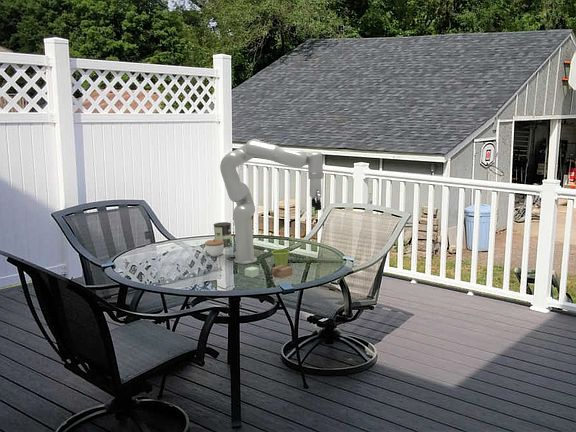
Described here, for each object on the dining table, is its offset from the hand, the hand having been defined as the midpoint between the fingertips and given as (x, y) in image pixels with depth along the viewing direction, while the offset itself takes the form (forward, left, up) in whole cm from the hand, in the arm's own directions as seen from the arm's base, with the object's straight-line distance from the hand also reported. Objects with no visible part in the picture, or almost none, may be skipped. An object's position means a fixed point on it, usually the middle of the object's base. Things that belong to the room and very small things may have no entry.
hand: (316, 208), depth 316 cm
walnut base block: (+5, -33, -28) cm, 43 cm away
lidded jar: (-57, -23, -29) cm, 68 cm away
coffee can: (-68, -7, -29) cm, 74 cm away
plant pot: (-8, -20, -29) cm, 36 cm away
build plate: (+5, -33, -29) cm, 44 cm away
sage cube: (-7, -42, -29) cm, 51 cm away
